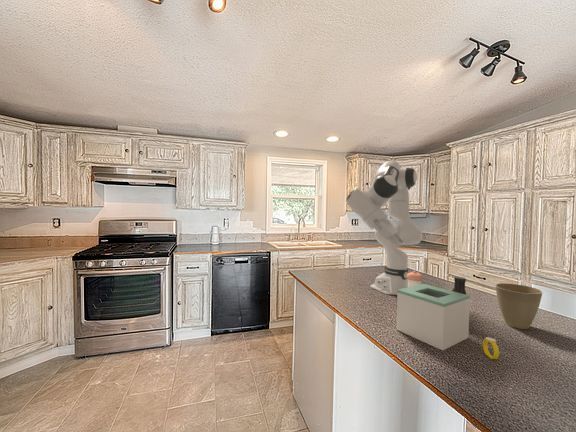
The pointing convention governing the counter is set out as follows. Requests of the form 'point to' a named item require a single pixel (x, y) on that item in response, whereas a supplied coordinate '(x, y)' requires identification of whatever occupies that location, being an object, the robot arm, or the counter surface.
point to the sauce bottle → (459, 285)
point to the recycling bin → (433, 315)
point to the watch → (495, 347)
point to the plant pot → (518, 304)
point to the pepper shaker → (414, 278)
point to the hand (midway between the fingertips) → (401, 244)
